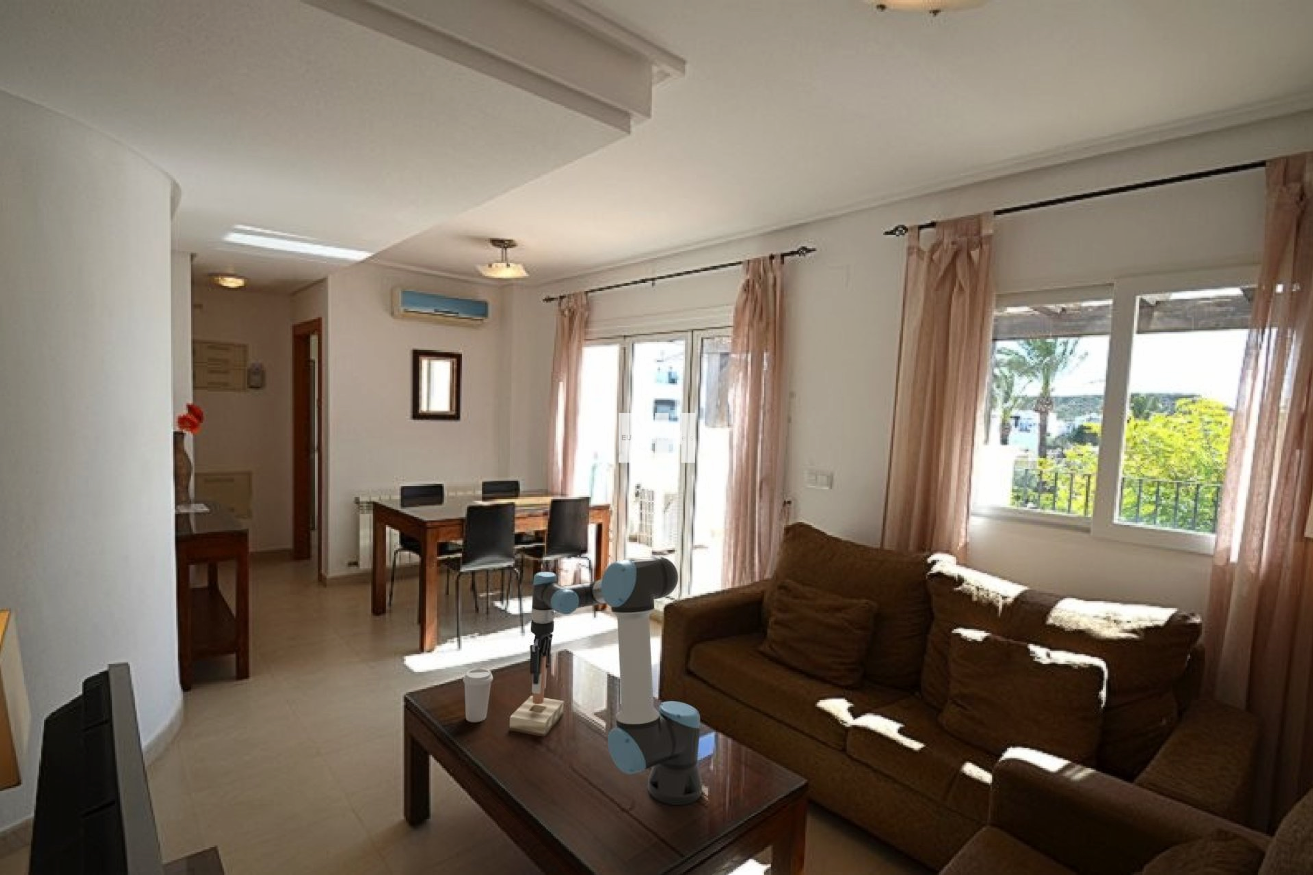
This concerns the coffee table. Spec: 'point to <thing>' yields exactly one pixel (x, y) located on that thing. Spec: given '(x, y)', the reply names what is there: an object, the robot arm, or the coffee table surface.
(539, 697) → the pin
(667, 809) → the coffee table surface
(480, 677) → the coffee cup
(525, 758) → the coffee table surface
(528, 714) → the bore block
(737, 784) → the coffee table surface
